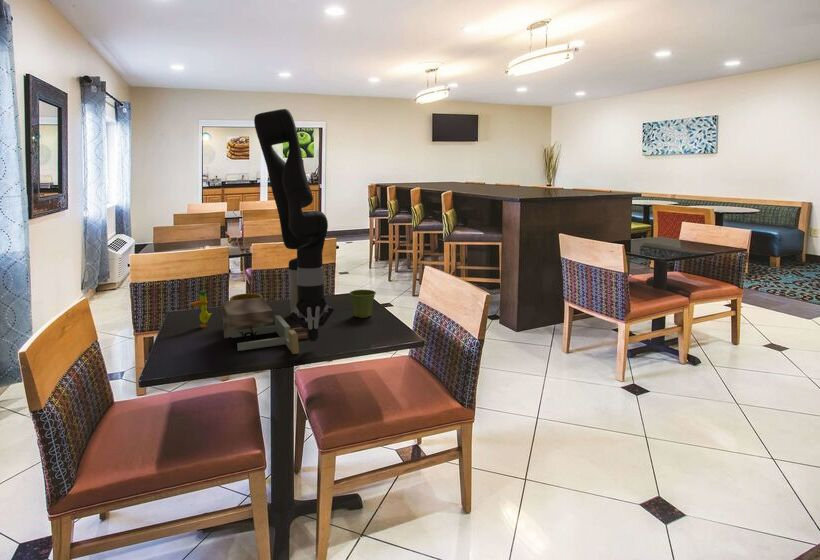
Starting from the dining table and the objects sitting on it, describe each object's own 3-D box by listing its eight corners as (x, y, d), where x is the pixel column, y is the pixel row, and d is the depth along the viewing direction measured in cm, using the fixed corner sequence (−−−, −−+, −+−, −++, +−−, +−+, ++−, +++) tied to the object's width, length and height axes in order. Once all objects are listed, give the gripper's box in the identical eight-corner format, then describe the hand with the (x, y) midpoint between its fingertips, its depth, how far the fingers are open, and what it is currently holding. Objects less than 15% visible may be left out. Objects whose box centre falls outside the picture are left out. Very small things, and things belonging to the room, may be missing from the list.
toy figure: (193, 329, 163) (190, 294, 160) (190, 327, 165) (187, 292, 163) (214, 326, 167) (212, 291, 164) (211, 323, 169) (209, 289, 167)
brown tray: (308, 330, 162) (308, 326, 162) (315, 337, 156) (315, 333, 155) (287, 333, 159) (287, 329, 159) (293, 340, 152) (293, 336, 152)
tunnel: (263, 332, 161) (261, 297, 158) (274, 348, 145) (272, 310, 143) (224, 337, 155) (221, 301, 153) (231, 354, 140) (228, 315, 138)
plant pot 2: (378, 318, 177) (377, 294, 175) (351, 320, 175) (351, 296, 173) (373, 311, 186) (373, 289, 184) (348, 313, 184) (347, 290, 182)
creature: (235, 355, 143) (262, 344, 147) (230, 338, 142) (257, 328, 146) (228, 347, 150) (254, 337, 154) (223, 331, 148) (249, 321, 152)
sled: (280, 330, 161) (279, 314, 160) (298, 353, 141) (297, 334, 140) (231, 336, 155) (230, 319, 154) (243, 361, 134) (241, 342, 133)
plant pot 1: (259, 329, 164) (258, 300, 162) (227, 329, 163) (225, 300, 161) (266, 320, 174) (265, 293, 172) (236, 320, 173) (234, 293, 171)
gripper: (329, 277, 147) (330, 334, 151) (284, 281, 142) (286, 340, 145) (337, 282, 141) (338, 341, 144) (290, 286, 135) (293, 347, 138)
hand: (312, 340), depth 145 cm, fingers closed
